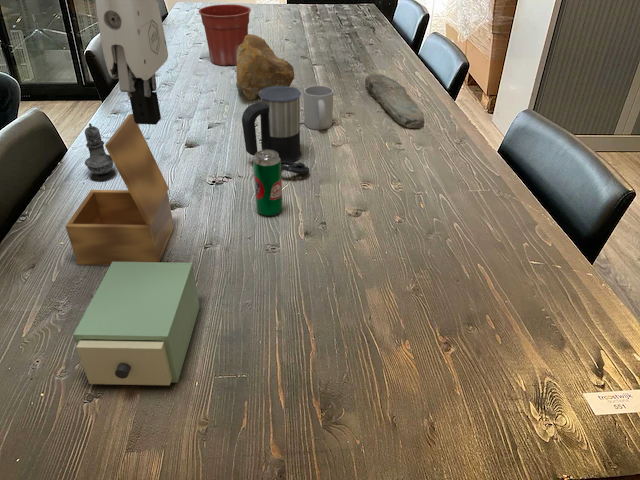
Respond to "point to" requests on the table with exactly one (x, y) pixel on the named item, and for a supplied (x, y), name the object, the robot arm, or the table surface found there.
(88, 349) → the drawer
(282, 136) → the milk frother
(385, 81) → the elongated rock
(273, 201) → the soda can
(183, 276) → the cabinet
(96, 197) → the chest
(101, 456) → the table surface
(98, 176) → the grey chess piece
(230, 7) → the flower pot
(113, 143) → the lid
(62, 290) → the table surface
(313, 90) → the cup
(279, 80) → the jagged brown rock
